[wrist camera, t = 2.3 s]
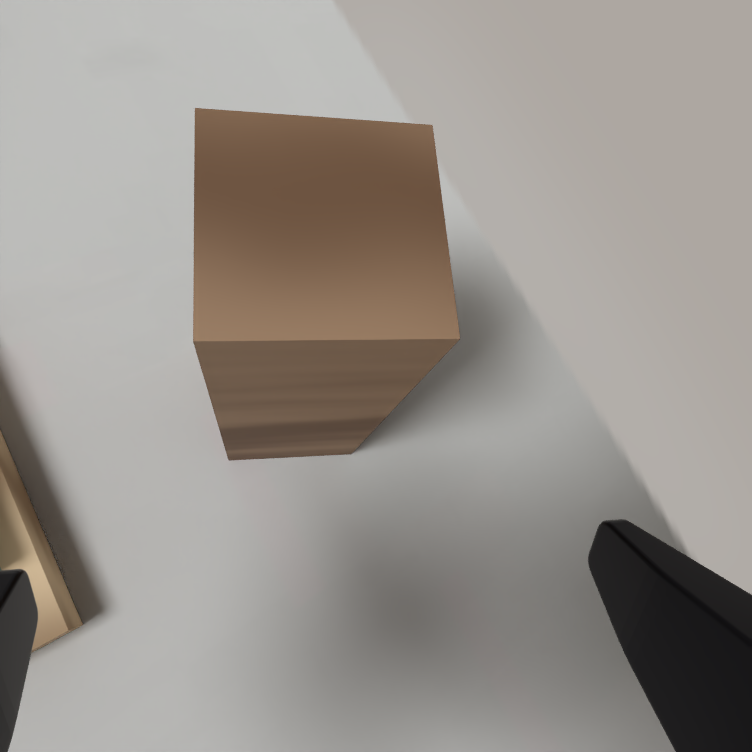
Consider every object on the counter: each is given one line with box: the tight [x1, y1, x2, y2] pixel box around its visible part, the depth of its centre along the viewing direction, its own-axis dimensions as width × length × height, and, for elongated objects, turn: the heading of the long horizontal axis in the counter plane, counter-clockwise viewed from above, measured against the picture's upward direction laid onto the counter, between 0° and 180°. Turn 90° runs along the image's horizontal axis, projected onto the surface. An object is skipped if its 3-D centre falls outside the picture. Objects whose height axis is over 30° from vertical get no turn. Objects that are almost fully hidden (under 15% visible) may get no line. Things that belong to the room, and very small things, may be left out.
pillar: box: [193, 108, 460, 460], centre depth 16 cm, size 4×4×12 cm
